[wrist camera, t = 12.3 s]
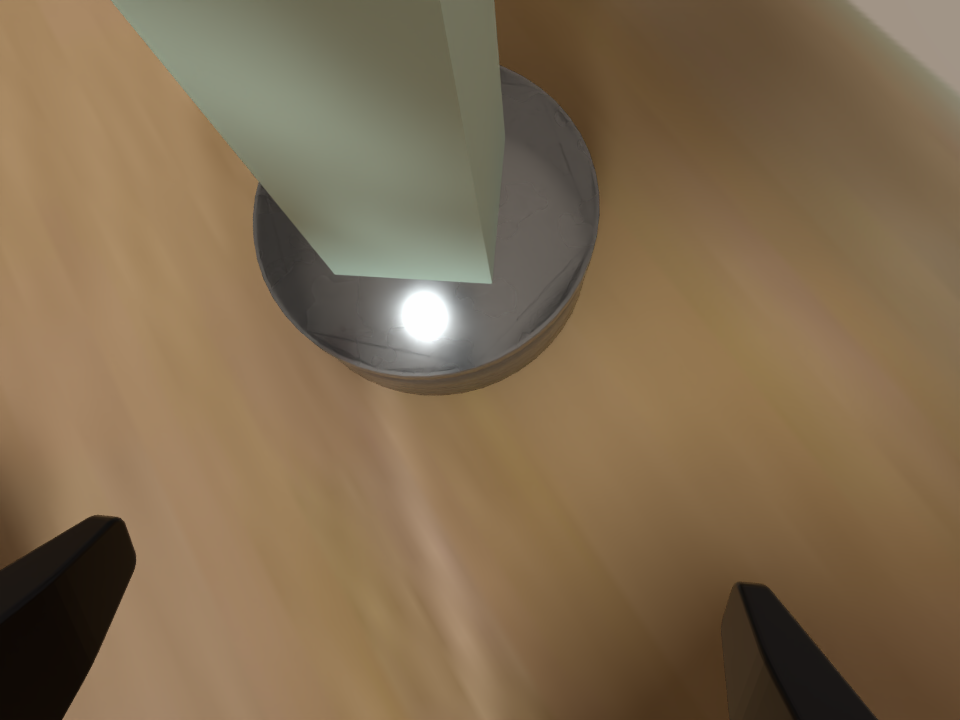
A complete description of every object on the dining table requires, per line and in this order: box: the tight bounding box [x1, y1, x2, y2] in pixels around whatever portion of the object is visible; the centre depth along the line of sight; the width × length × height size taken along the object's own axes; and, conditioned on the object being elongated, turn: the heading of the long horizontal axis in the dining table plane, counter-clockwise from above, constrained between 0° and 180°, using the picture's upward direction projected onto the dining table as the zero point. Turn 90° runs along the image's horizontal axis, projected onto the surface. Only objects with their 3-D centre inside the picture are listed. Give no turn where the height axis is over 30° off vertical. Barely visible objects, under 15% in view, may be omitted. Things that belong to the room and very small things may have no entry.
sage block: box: [111, 0, 505, 284], centre depth 16 cm, size 5×5×12 cm
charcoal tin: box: [253, 65, 599, 395], centre depth 24 cm, size 11×11×4 cm
